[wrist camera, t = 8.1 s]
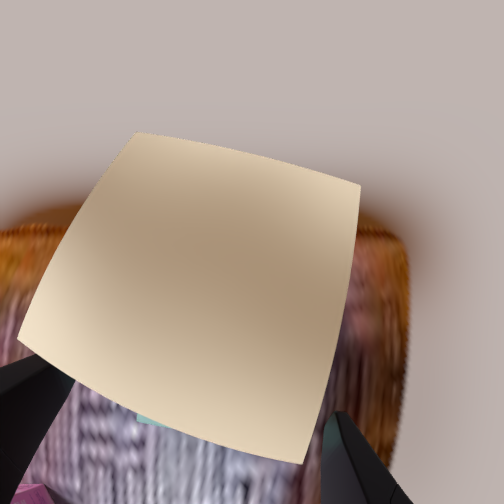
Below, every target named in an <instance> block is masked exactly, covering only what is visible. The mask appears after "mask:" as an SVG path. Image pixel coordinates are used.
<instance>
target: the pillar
mask: <svg viewBox="0 0 504 504" xmlns="http://www.w3.org/2000/svg"><path fill="white" fill-rule="evenodd" d="M360 190H361V186H360V185H358V184H355V183H351V182H348V181H345V180H342V179H339V178H336V177H333V176H330V175H327V174H323V173H320V172H317V171H313V170H310V169H307V168H303V167H300V166H296V165H293V164H289V163H285V162H282V161H278V160H274V159H270V158H267V157H263V156H259V155H255V154H250V153H246V152H242V151H238V150H233V149H229V148H224V147H219V146H214V145H210V144H205V143H199V142H194V141H189V140H184V139H178V138H172V137H167V136H160V135H154V134H148V133H140V132H136V133H135V134H134V135H133V136H132V138H131V139H130V140H129V141H128V143H127V144H126V145H125V146H124V148H123V149H122V151H120V153H119V154H118V155H117V157H116V158H115V159H114V161H113V162H112V163H111V165H110V166H109V167H108V169H107V170H106V172H105V173H104V174H103V176H102V177H101V179H100V180H99V182H98V183H97V184H96V186H95V188H94V189H93V190H92V192H91V194H90V195H89V197H88V198H87V199H86V201H85V203H84V204H83V206H82V207H81V209H80V210H79V212H78V214H77V215H76V217H75V219H74V220H73V222H72V224H71V225H70V227H69V229H68V230H67V232H66V234H65V236H64V237H63V239H62V241H61V243H60V244H59V246H58V248H57V250H56V252H55V254H54V256H53V258H52V260H51V261H50V263H49V265H48V267H47V269H46V271H45V273H44V276H43V278H42V280H41V282H40V284H39V286H38V288H37V290H36V293H35V295H34V297H33V300H32V302H31V304H30V307H29V309H28V311H27V314H26V316H25V319H24V321H23V324H22V327H21V329H20V332H19V335H18V338H17V339H18V340H19V341H21V342H22V343H23V344H24V345H26V346H27V347H28V348H30V349H31V350H32V351H34V352H35V353H36V354H38V355H39V356H41V357H42V358H43V359H45V360H46V361H48V362H49V363H51V364H52V365H53V366H55V367H56V368H58V369H59V370H61V371H63V372H64V373H66V374H67V375H69V376H70V377H72V378H74V379H75V380H77V381H78V382H80V383H82V384H83V385H85V386H87V387H88V388H90V389H92V390H94V391H95V392H97V393H99V394H101V395H103V396H105V397H106V398H108V399H110V400H112V401H114V402H116V403H118V404H120V405H122V406H124V407H126V408H128V409H130V410H132V411H134V412H136V413H138V414H140V415H143V416H145V417H147V418H149V419H151V420H154V421H156V422H158V423H161V424H163V425H166V426H168V427H171V428H173V429H176V430H178V431H181V432H183V433H186V434H189V435H192V436H194V437H197V438H200V439H203V440H206V441H209V442H212V443H215V444H218V445H222V446H225V447H228V448H232V449H235V450H239V451H242V452H246V453H250V454H254V455H258V456H262V457H267V458H271V459H276V460H281V461H286V462H291V463H297V464H302V463H303V461H304V458H305V455H306V452H307V449H308V446H309V443H310V440H311V437H312V434H313V431H314V427H315V424H316V421H317V418H318V414H319V411H320V407H321V404H322V400H323V397H324V393H325V390H326V386H327V382H328V378H329V374H330V370H331V366H332V362H333V358H334V354H335V350H336V345H337V341H338V336H339V331H340V327H341V322H342V317H343V312H344V307H345V301H346V296H347V290H348V284H349V278H350V272H351V266H352V259H353V252H354V245H355V237H356V229H357V220H358V211H359V201H360Z"/></svg>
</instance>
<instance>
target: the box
mask: <svg viewBox="0 0 504 504" xmlns="http://www.w3.org/2000/svg"><path fill="white" fill-rule="evenodd" d="M10 504H55V503H54V501H53V499H52V498H51V496H50V494H49V492H48V491H47V489H46V487H45V485H44V484H19V486H18V488H17V490H16V492H15V495H14V497H13V499H12V501H11V503H10Z"/></svg>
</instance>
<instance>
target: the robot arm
mask: <svg viewBox="0 0 504 504" xmlns="http://www.w3.org/2000/svg"><path fill="white" fill-rule="evenodd" d="M74 383H75V379H74V378H72V377H70V376H69V375H67V374H66V373H64V372H63V371H61V370H59V369H58V368H56V367H55V366H53V365H52V364H51V363H49V362H48V361H46V360H45V359H43V358H42V357H41V356H39V355H38V354H34V355H32V356H29V357H26V358H24V359H21V360H19V361H16V362H13V363H11V364H8V365H6V366H3V367H0V504H10V503H11V501H12V499H13V497H14V495H15V492H16V490H17V488H18V486H19V484H20V482H21V480H22V478H23V476H24V474H25V472H26V470H27V468H28V466H29V464H30V462H31V460H32V458H33V456H34V455H35V453H36V451H37V449H38V447H39V445H40V443H41V442H42V440H43V438H44V436H45V435H46V433H47V431H48V429H49V428H50V426H51V424H52V422H53V421H54V419H55V417H56V416H57V414H58V412H59V411H60V409H61V407H62V406H63V404H64V402H65V401H66V399H67V397H68V395H69V393H70V391H71V389H72V387H73V385H74ZM321 504H413V502H412V501H411V500H410V499H409V498H408V496H407V495H406V494H405V493H404V491H403V490H402V489H401V487H400V486H399V484H397V482H396V481H395V479H394V478H393V476H392V475H391V474H390V472H389V471H388V469H387V468H386V467H385V465H384V464H383V463H382V461H381V460H380V458H379V457H378V456H377V454H376V453H375V451H374V450H373V449H372V447H371V446H370V444H369V443H368V442H367V440H366V439H365V437H364V436H363V435H362V433H361V432H360V430H359V429H358V428H357V426H356V425H355V423H354V422H353V420H352V419H351V418H350V416H349V415H348V413H346V412H345V411H334V412H333V413H332V415H331V416H330V418H329V420H328V421H327V423H326V424H325V427H324V436H323V447H322V457H321Z"/></svg>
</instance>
